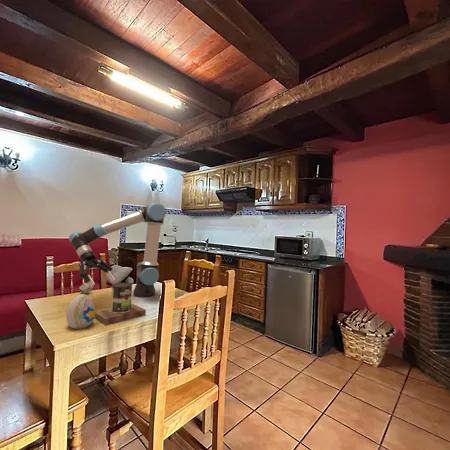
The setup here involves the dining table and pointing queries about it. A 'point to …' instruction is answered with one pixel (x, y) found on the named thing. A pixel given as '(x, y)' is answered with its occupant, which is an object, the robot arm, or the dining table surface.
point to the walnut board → (118, 315)
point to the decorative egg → (80, 312)
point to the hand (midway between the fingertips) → (103, 283)
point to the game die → (85, 288)
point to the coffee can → (121, 298)
